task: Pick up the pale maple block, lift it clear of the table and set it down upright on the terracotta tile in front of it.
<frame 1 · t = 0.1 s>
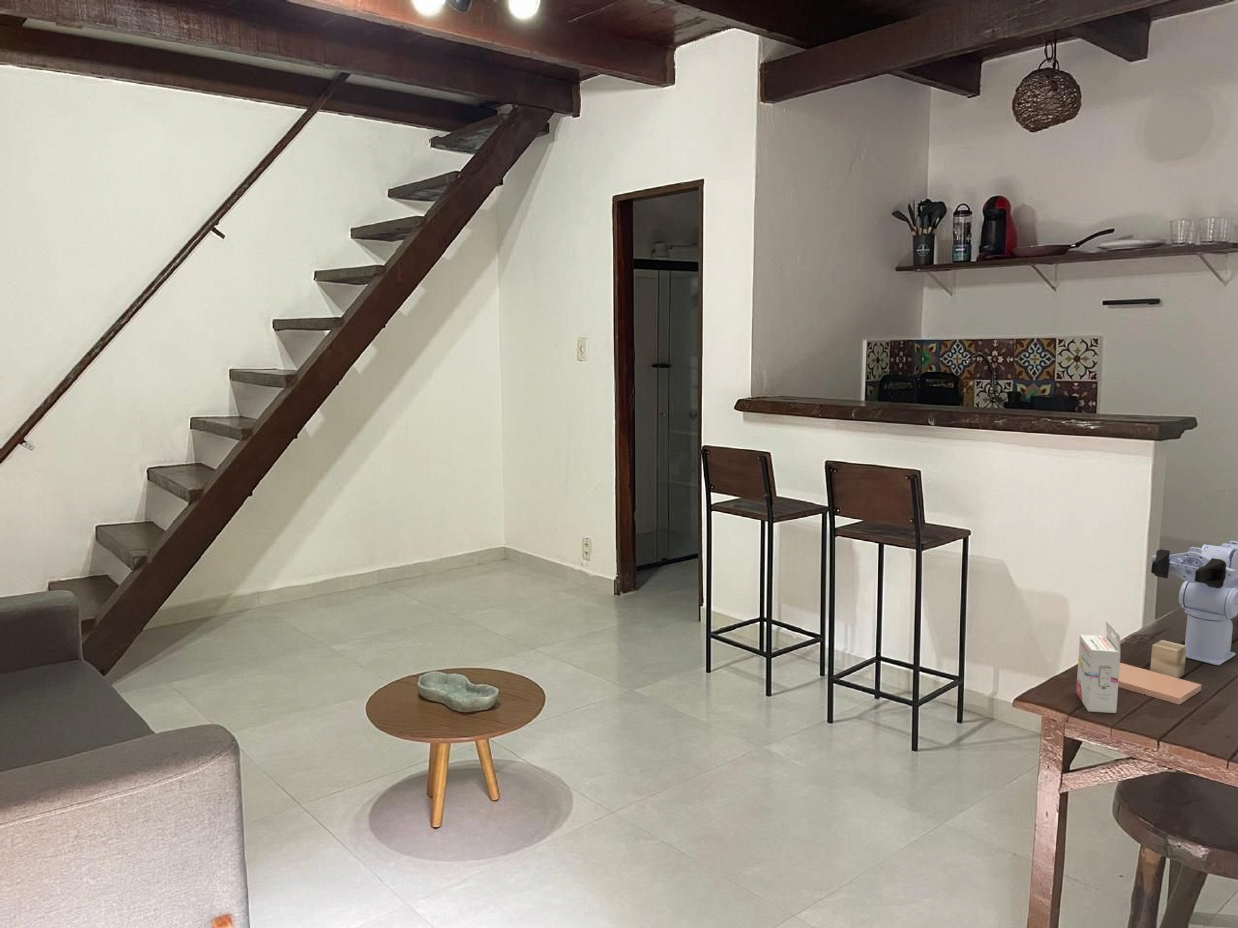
hand: (1175, 572, 178), 22 cm above the table, tool horizontal, fingers open, 7 cm apart
ink cartridge box: (1095, 704, 170), on the table
terracotta tile: (1147, 685, 178), on the table
maple block: (1166, 674, 184), on the table
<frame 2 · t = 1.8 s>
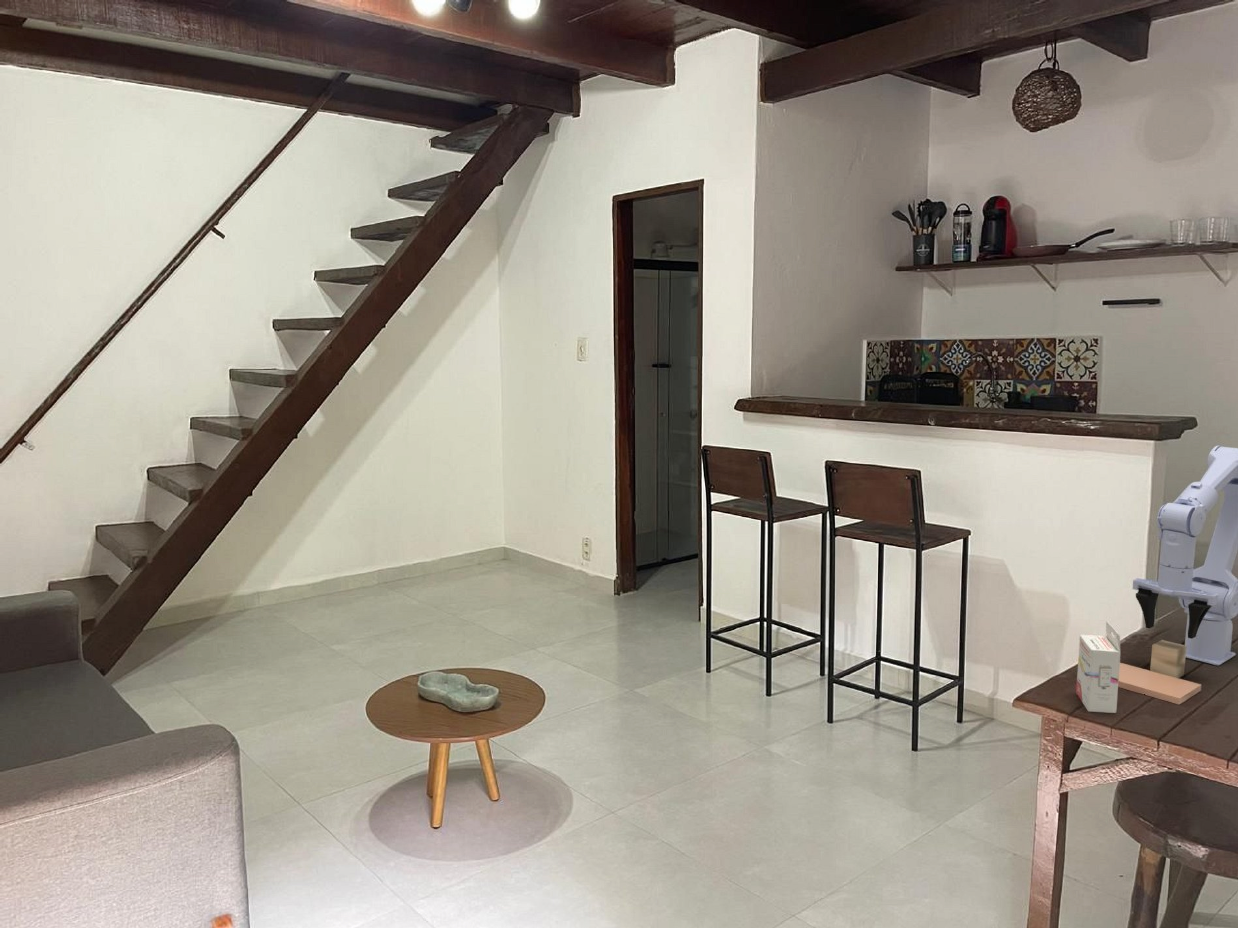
hand: (1170, 632, 182), 9 cm above the table, tool pointing down, fingers open, 7 cm apart
nothing on the table moved.
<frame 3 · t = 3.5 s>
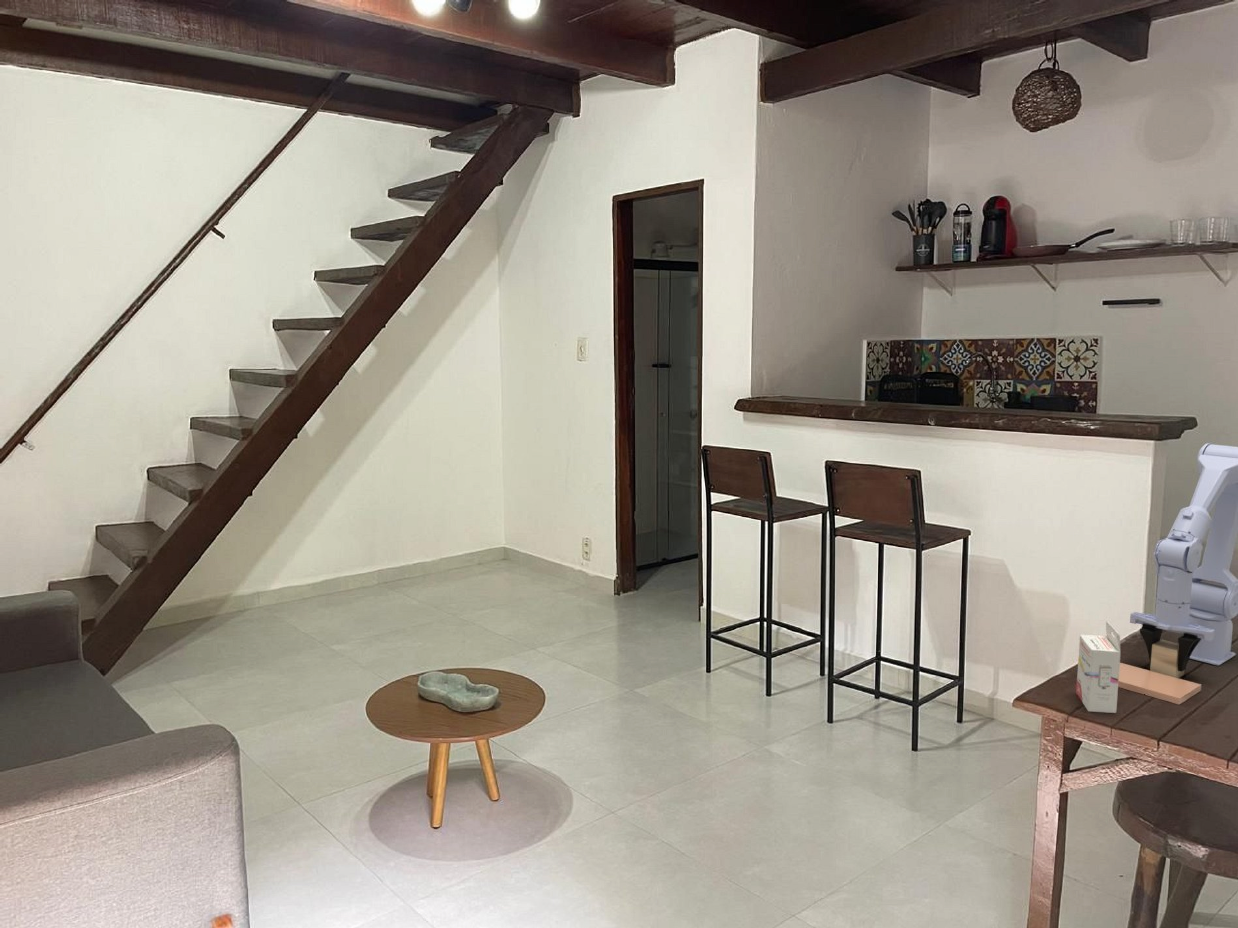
hand: (1167, 666, 183), 2 cm above the table, tool pointing down, fingers closed on maple block, 4 cm apart
maple block: (1166, 673, 184), on the table, touching gripper
everything else where it was.
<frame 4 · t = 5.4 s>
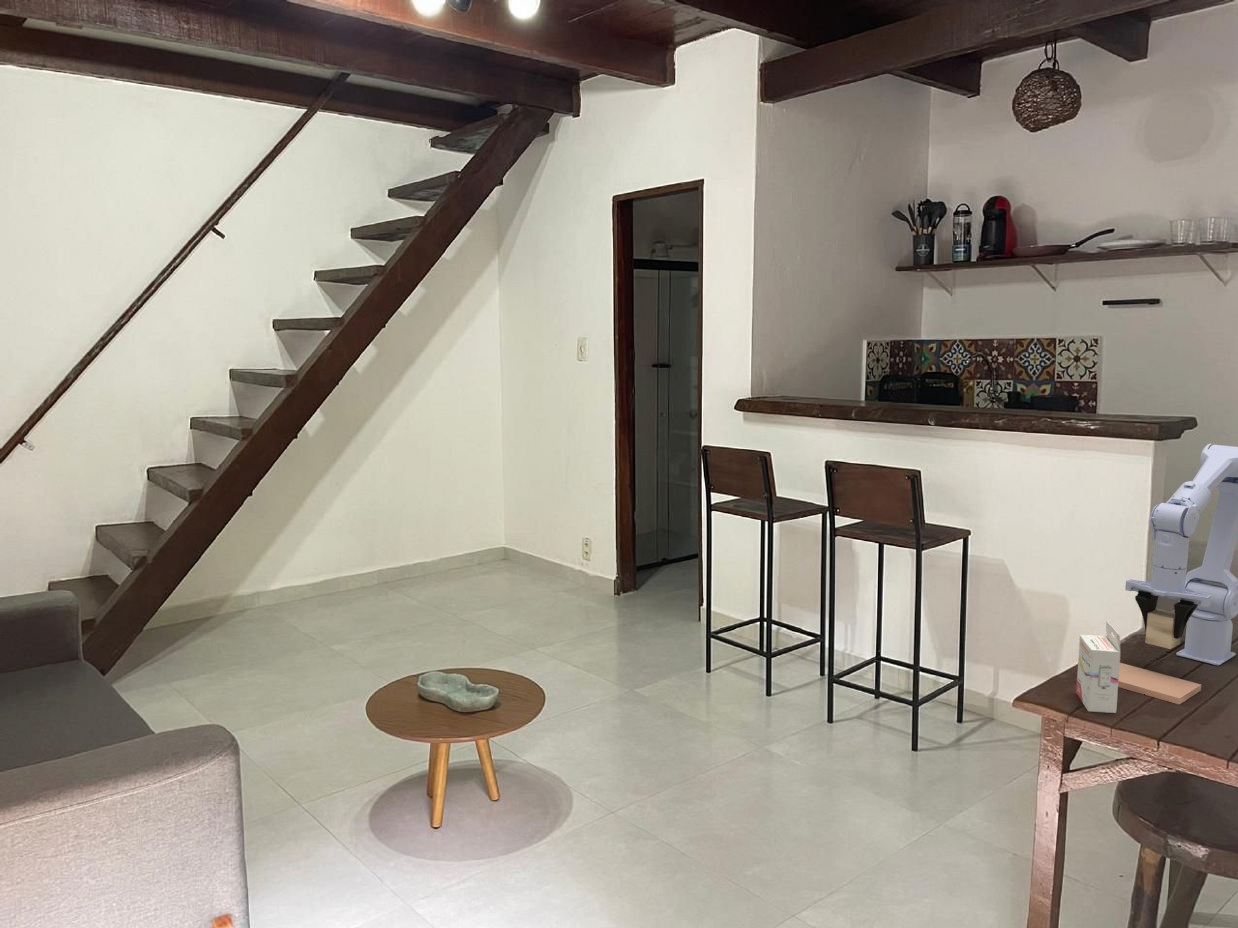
hand: (1163, 633, 180), 9 cm above the table, tool pointing down, fingers closed on maple block, 4 cm apart
maple block: (1162, 643, 180), point 7 cm above the table, touching gripper
everything else where it was.
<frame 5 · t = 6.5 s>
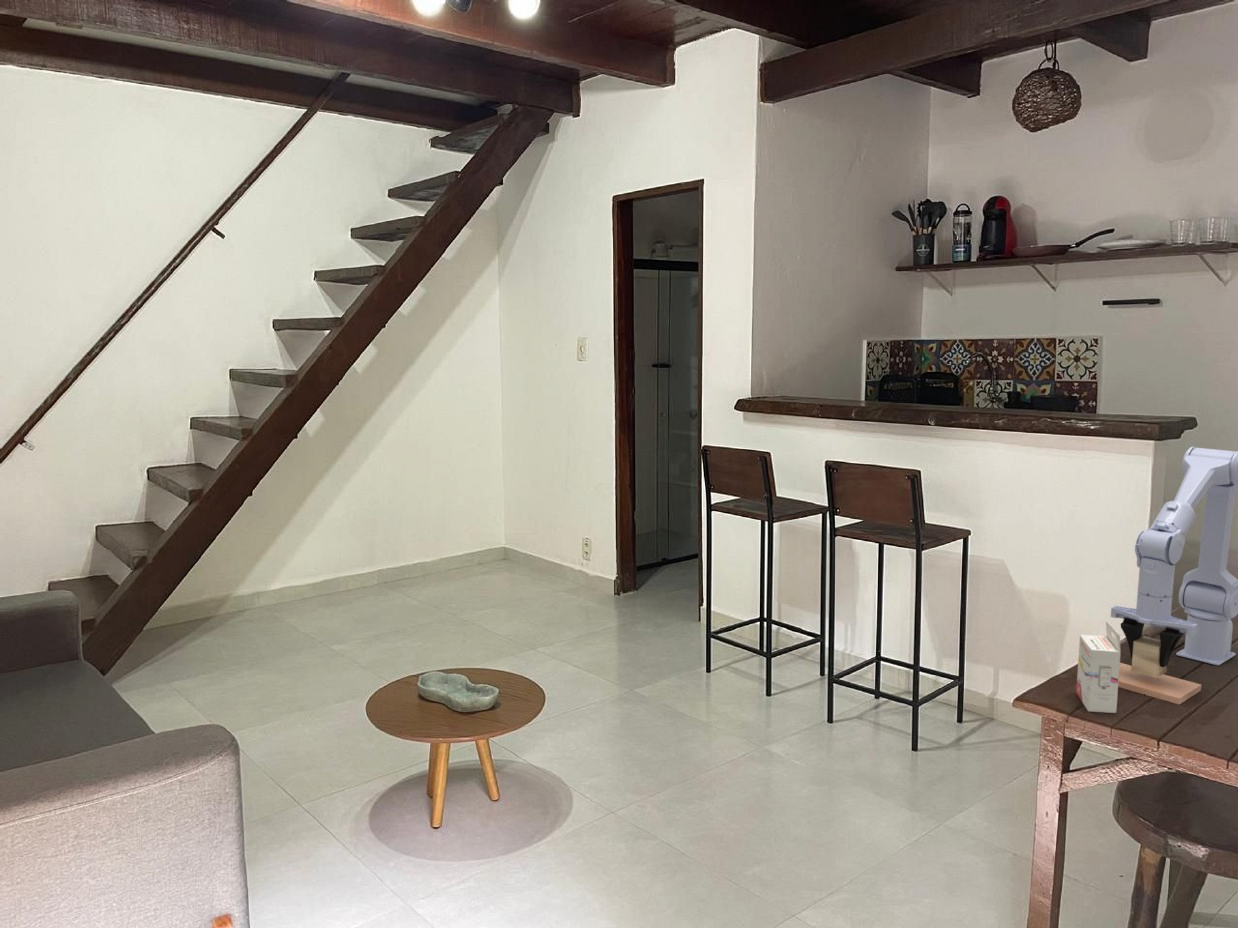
hand: (1149, 661, 177), 5 cm above the table, tool pointing down, fingers closed on maple block, 4 cm apart
maple block: (1148, 671, 178), point 3 cm above the table, touching gripper
everything else where it was.
when the fingers open (4 cm above the table, at t = 7.5 s): maple block drops 1 cm, resting on terracotta tile.
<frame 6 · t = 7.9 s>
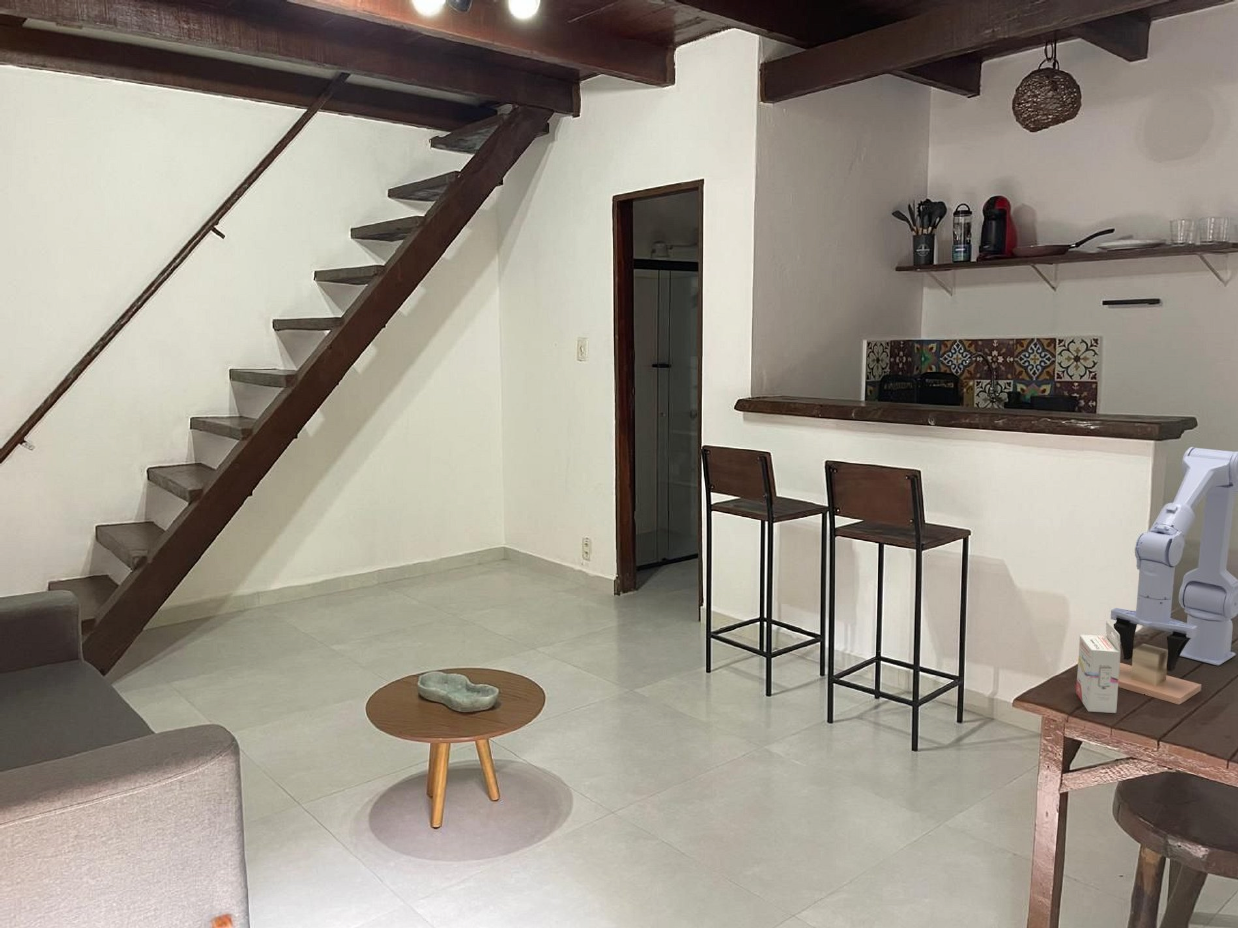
hand: (1149, 663, 177), 4 cm above the table, tool pointing down, fingers open, 7 cm apart
maple block: (1148, 679, 178), point 1 cm above the table, touching terracotta tile
everything else where it was.
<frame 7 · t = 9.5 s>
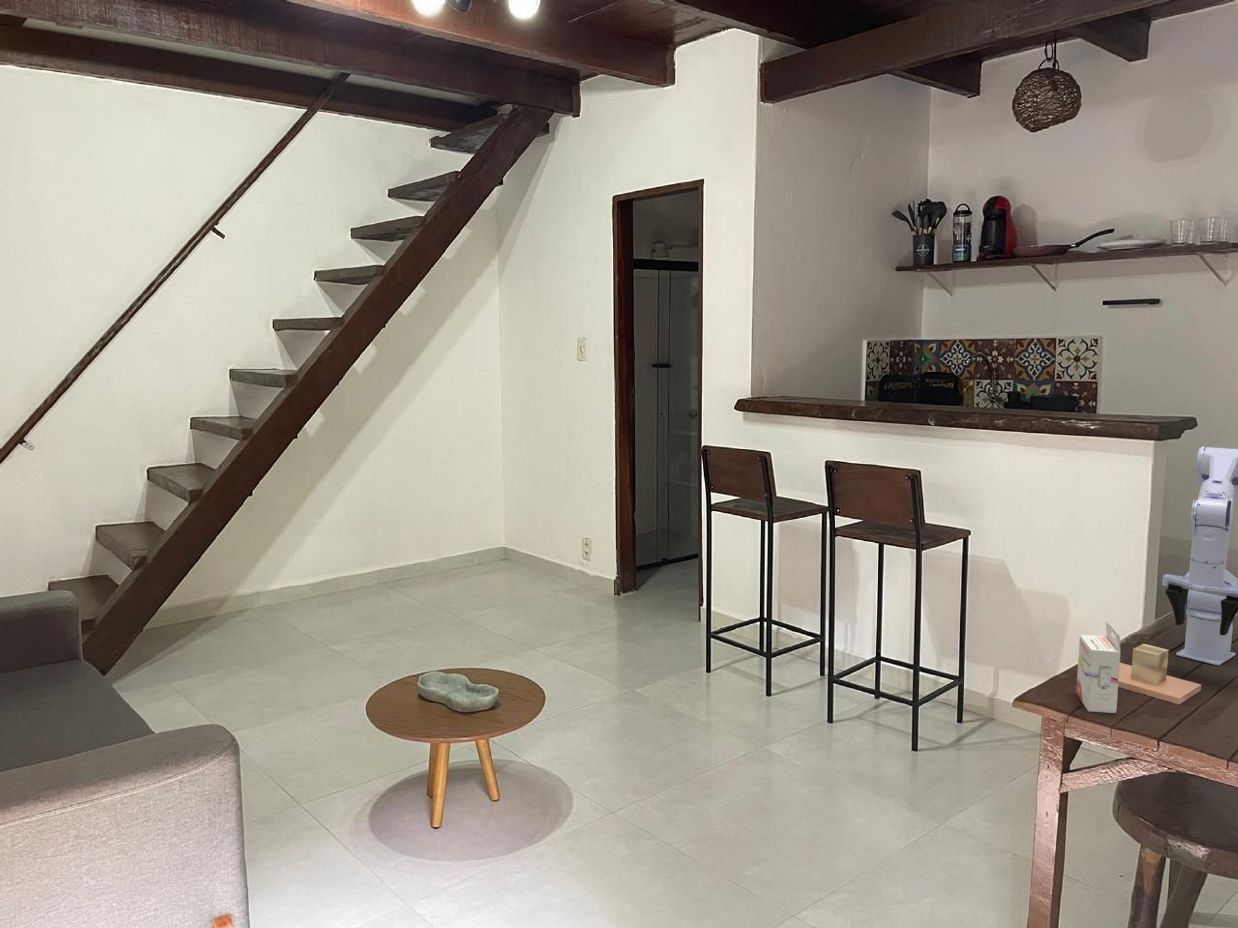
hand: (1201, 628, 179), 10 cm above the table, tool pointing down, fingers open, 7 cm apart
nothing on the table moved.
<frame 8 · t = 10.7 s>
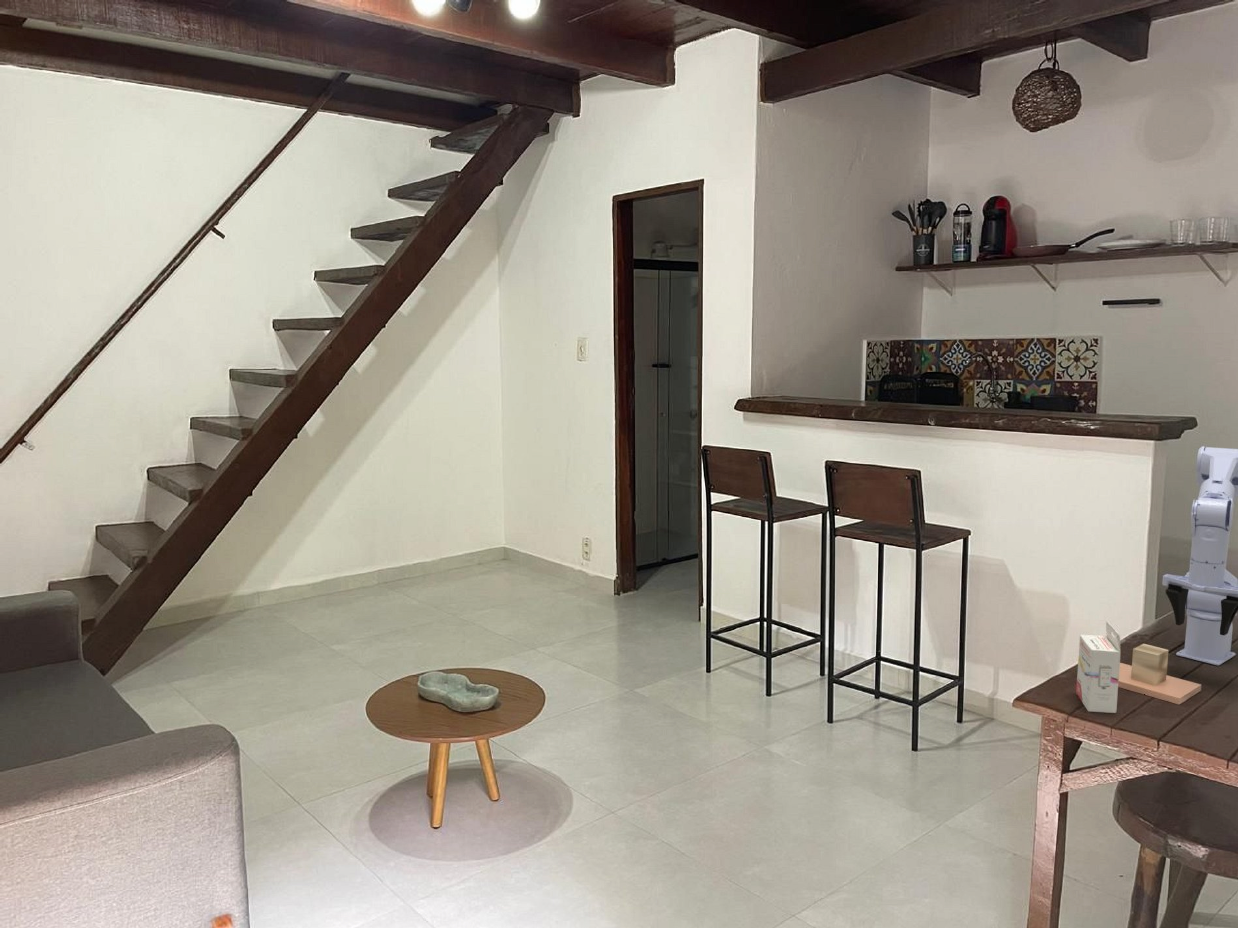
hand: (1201, 628, 179), 10 cm above the table, tool pointing down, fingers open, 7 cm apart
nothing on the table moved.
at the end: maple block inside the target area on the terracotta tile (0.1 cm from its centre), point 1.2 cm above the terracotta tile's base; maple block tilted 0°; the gripper is holding nothing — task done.
